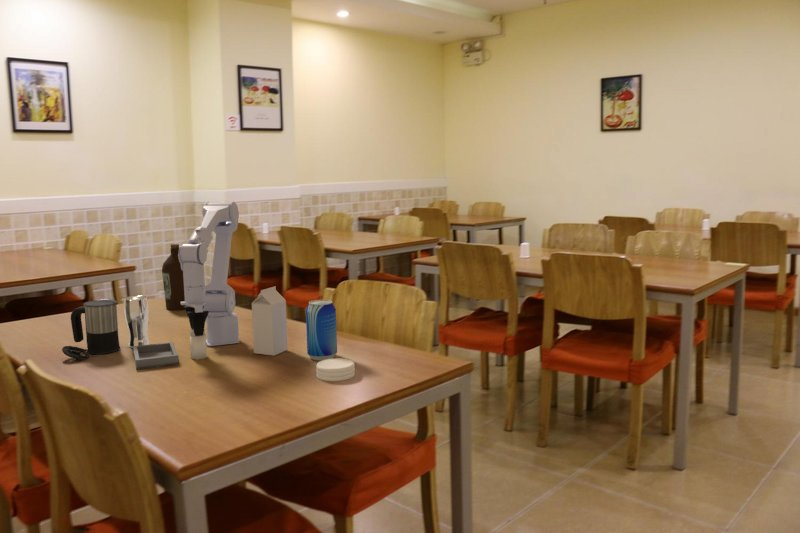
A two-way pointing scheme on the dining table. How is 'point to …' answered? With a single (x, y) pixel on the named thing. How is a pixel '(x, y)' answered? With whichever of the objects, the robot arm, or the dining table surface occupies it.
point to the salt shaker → (198, 345)
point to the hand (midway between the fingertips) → (197, 332)
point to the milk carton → (269, 323)
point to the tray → (155, 355)
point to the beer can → (321, 330)
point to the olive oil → (173, 280)
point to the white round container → (335, 369)
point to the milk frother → (95, 329)
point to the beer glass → (137, 319)
